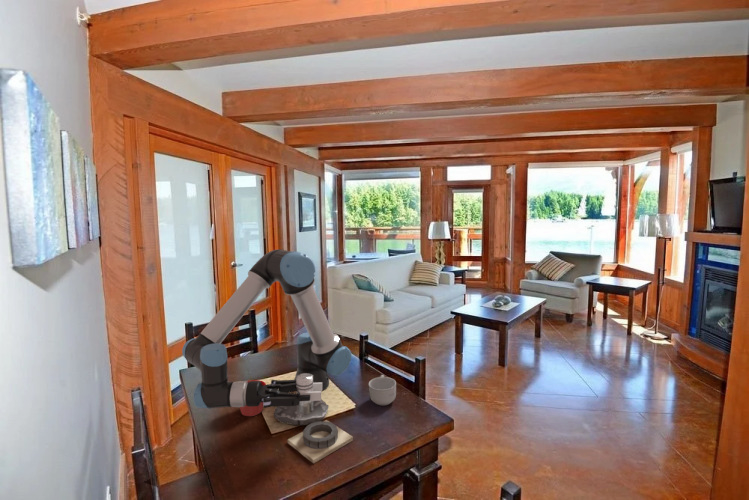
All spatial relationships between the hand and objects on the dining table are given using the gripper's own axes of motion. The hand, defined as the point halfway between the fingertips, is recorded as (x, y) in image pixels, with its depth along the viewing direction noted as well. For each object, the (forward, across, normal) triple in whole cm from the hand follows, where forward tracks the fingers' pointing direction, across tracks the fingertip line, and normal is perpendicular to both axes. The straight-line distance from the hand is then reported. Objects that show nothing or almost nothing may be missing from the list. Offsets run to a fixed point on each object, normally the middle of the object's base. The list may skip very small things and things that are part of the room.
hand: (321, 391), depth 119 cm
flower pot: (-27, -21, -18) cm, 39 cm away
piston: (-5, 0, -6) cm, 8 cm away
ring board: (-1, -1, -18) cm, 18 cm away
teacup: (+23, -26, -18) cm, 39 cm away
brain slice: (-8, -18, -18) cm, 27 cm away
